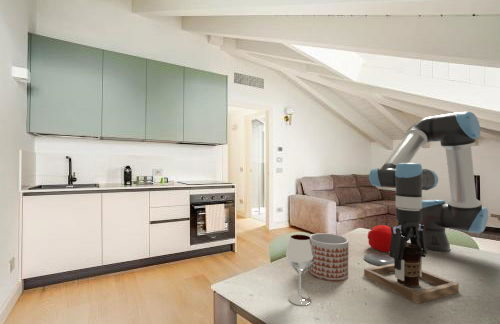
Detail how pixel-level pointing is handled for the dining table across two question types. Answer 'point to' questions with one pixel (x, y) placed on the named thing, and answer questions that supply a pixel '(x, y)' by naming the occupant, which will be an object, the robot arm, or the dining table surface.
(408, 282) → the coffee cup
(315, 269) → the planter
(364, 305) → the dining table surface
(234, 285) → the dining table surface
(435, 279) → the square wooden frame
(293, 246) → the wineglass
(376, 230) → the tomato
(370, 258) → the flat grey disc
